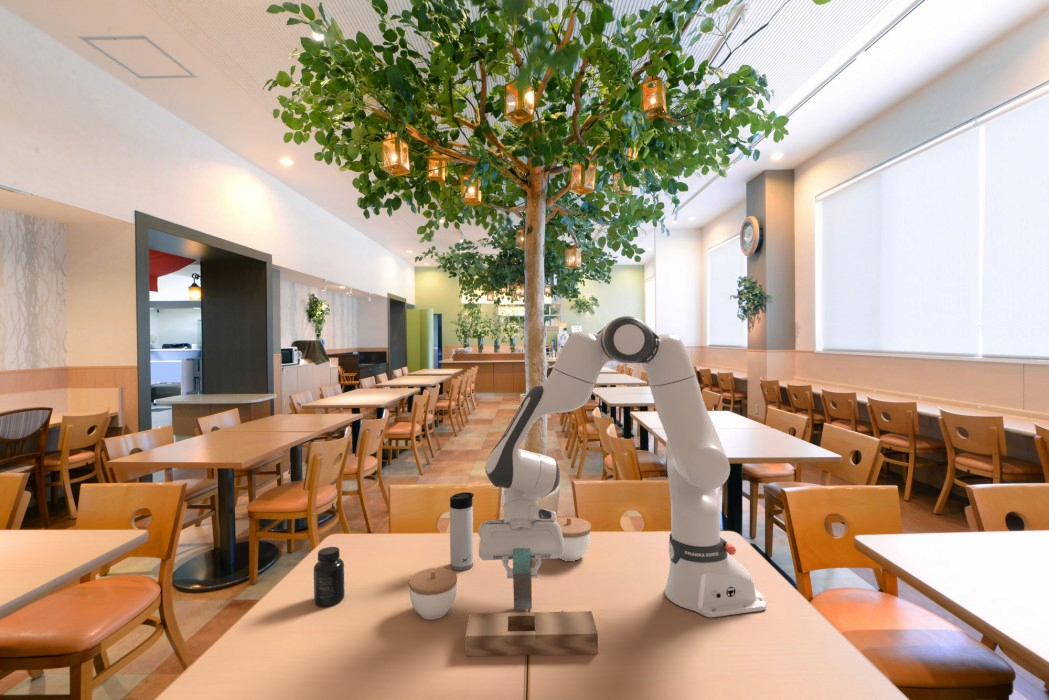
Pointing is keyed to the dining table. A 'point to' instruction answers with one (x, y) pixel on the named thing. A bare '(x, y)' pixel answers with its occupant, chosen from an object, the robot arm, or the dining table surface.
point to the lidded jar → (433, 592)
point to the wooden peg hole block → (531, 633)
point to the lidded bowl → (574, 537)
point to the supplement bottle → (328, 577)
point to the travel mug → (461, 531)
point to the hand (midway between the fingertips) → (522, 577)
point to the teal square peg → (522, 578)
